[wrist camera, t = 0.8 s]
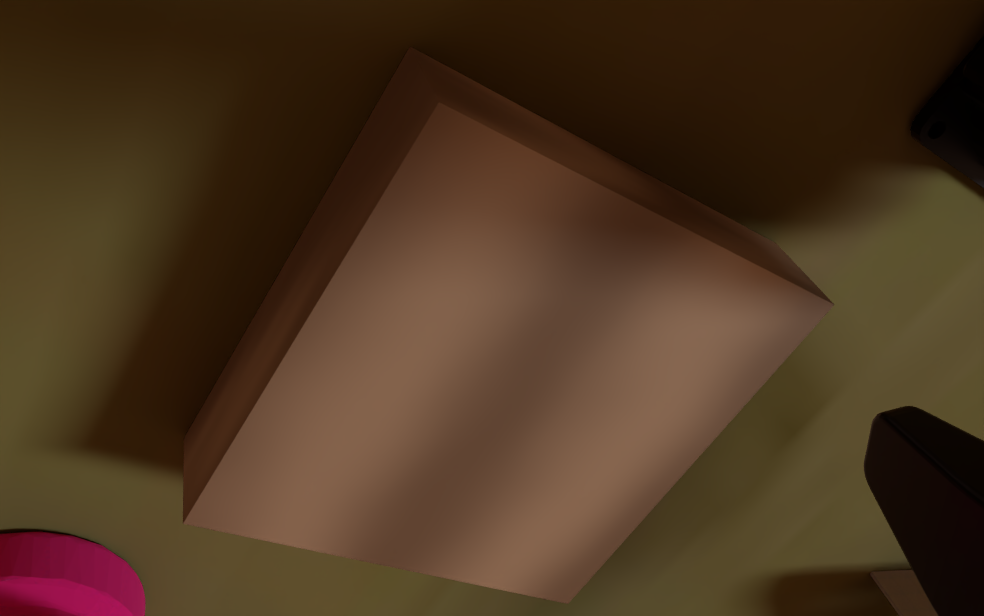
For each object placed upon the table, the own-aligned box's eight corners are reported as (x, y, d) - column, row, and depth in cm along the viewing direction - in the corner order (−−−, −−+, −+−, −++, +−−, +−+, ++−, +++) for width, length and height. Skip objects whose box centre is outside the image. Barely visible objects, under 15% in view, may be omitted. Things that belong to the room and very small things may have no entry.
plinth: (776, 243, 26) (834, 304, 23) (539, 528, 30) (568, 603, 28) (410, 46, 20) (439, 101, 18) (183, 438, 24) (182, 523, 22)
